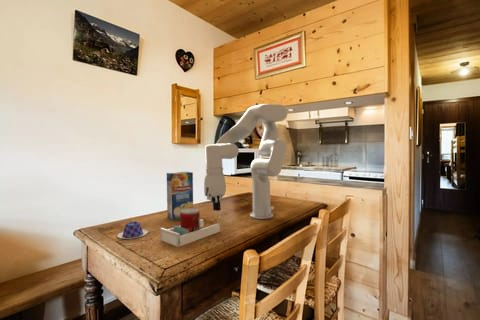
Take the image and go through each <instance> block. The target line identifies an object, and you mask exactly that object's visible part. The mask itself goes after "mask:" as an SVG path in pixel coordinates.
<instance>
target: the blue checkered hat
mask: <svg viewBox="0 0 480 320" xmlns="http://www.w3.org/2000/svg"><path fill="white" fill-rule="evenodd" d="M148 232H149V231H148V230H147V229H144V228H142V224H141V223H140V222H139V221H129V222H126V223H125V225H124V228H123V231H122V232H120V233H118V234H117V236H116V237H117V238H119V239H122V240H123V239H126V240H127V239H128V240H131V239H137V238H141V237H144V236H145V235H147V234H148Z"/></svg>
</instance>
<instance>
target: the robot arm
mask: <svg viewBox="0 0 480 320" xmlns="http://www.w3.org/2000/svg"><path fill="white" fill-rule="evenodd" d="M287 117H288V109H287V108H286V106H285V105H283V104H276V103H275V104H272V103H261V104H256V105H252V106H250V107H249V108H247V110H246V111H245V112H244V114H243V115H242V116H241V118H240V119H239V120H238V121H237V122H236V123H235V125H234V126H232V127H231V128H230V129H228V130H227V131H226V132H225V133H224V134H223V135H222V136H220V137H219V139H218V140H217V141H216V143H215V144H213V143H211V144H207V145H205V146H204V147H205V148H204V154H205V155H204V156H205V167H206V170H205V171H206V174H205V176H204V183H203V187H204V196H205V197H206V200H207V201H208V200H209V201H211V203H212V207H213V211H216V212H219V211H221V210H222V209H221V202H222V198H223V197H224V196H225V195H226V191H227V189H226V186H227V185H226V178H225V173H224V166H223V159H225V160H233V159H235V158H236V157H237V156H238V155H239V152H240V151H239V147H238V146H237V145H236V144H235V143H237V142H238V141H242V140H244V139H245V138H247V137H249V136H250V135H251V133H252V132H253V130H254V129H255V128H256V126H257V125H258V124H259V123H261V124H262V127H263V133H262V137H261V139H260V143H259V146H258V154H259V155H261V156H262V157H257V158H255V159H253V160H252V161H251V163H250V173H251V178H252V211H251V212H250V213H249V216H250V218H253V219H257V220H266V219H272V218H273V217H274V213H272V211H273V210H274V209H275V206H274V205H273V206H271V181H270V179H269V178H270V177H272V178H274V177H277V176H279V175H280V174H281V171H282V170H283V169H282V168H283V165H284V161H285V158H286V154H287V149H288V147H287V144H286V142H285V140H283V139H282V138H279V135H280V131H279V128H278V125H277V124H276V122H282V121H285V119H287Z"/></svg>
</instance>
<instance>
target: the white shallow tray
mask: <svg viewBox="0 0 480 320" xmlns="http://www.w3.org/2000/svg"><path fill="white" fill-rule="evenodd" d="M204 222H205V221H204V219H203V218H201V219H200V229H199V230H196V231H193V232H190V233H187V234H184V235H181V236H180V234H179V233H176V232H174V227H170V228H165V227H160V241H162V242H165V243H167V244H170V245H172V246H174V247H177V248H179V247H182V246H185V245H188V244H190V243H193V242H195V241H197V240H198V241H199V240H200V239H203V238H207V237H209V236H211V235H214V234H217V233H219V232H221V231H220V229H221V228H220V227H221V226H220V223H218V222H217V223H214V224H212V225H209V226H206V227H205V225H204V224H205V223H204ZM178 226H179V227H180V225H178Z"/></svg>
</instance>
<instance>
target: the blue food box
mask: <svg viewBox="0 0 480 320" xmlns="http://www.w3.org/2000/svg"><path fill="white" fill-rule="evenodd" d="M166 204H167V205H166V207H167V208H166V209H167V213H166V214H167V218H169V219H170V220H171V221H174V220H180V211H181V210H182V209H187V208H194V172H192V171H178V172H177V171H175V172H172V171H171V172H166Z"/></svg>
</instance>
